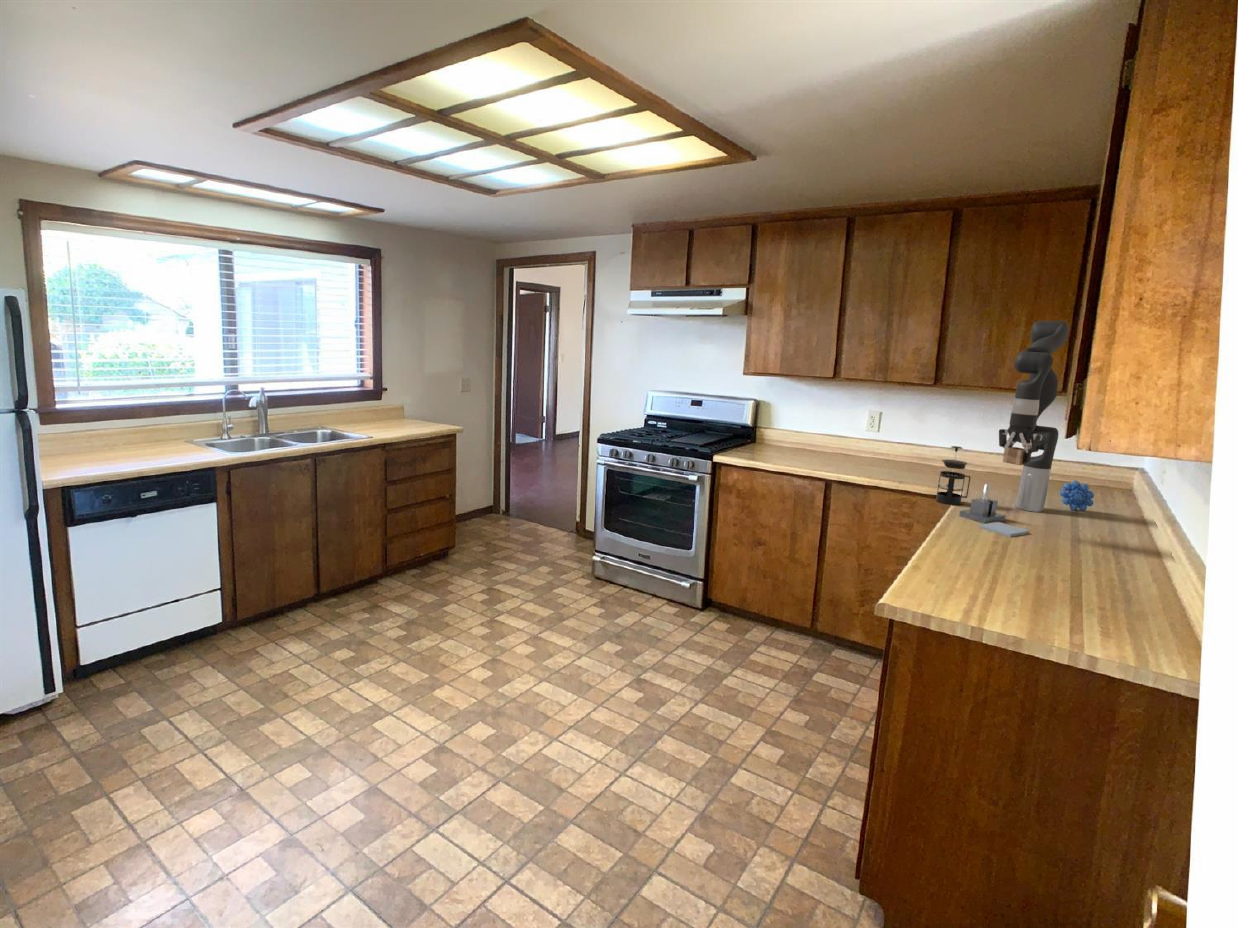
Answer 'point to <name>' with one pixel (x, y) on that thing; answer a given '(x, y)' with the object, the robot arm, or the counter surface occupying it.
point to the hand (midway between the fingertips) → (1015, 461)
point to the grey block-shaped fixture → (983, 509)
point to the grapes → (1077, 495)
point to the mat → (1004, 529)
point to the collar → (1014, 455)
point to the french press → (952, 482)
